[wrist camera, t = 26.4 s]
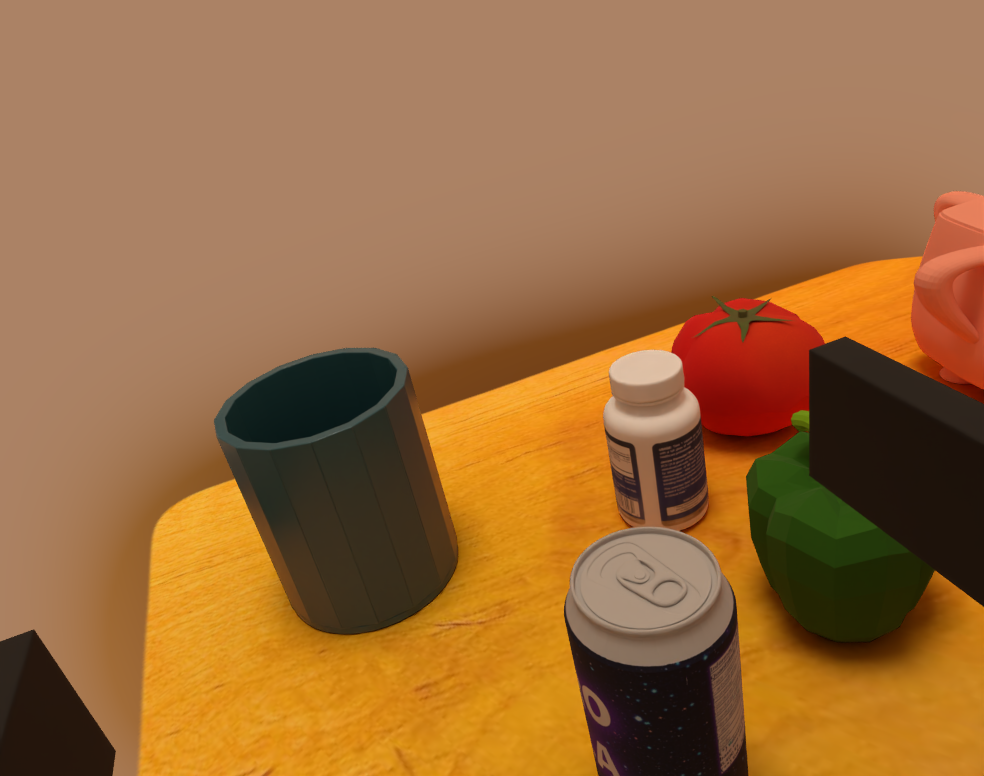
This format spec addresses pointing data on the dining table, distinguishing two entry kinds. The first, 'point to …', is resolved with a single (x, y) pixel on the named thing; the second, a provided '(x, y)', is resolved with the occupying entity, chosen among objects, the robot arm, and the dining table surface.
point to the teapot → (953, 290)
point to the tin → (342, 487)
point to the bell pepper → (827, 550)
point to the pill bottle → (655, 442)
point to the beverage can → (657, 656)
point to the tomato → (747, 366)
